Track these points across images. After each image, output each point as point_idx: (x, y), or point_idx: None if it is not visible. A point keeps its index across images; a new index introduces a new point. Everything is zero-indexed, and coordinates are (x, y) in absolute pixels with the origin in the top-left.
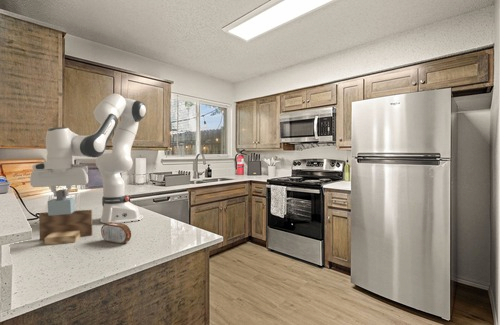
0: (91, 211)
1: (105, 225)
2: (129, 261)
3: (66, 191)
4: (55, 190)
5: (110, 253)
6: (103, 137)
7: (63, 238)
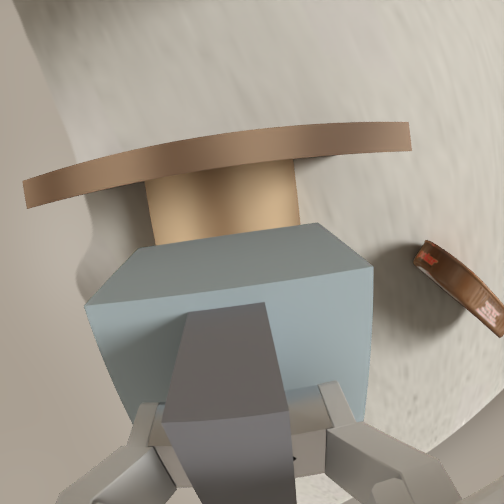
0: (405, 144)
1: (459, 300)
2: (458, 411)
3: (342, 479)
4: (134, 482)
5: (431, 376)
6: None
7: None
